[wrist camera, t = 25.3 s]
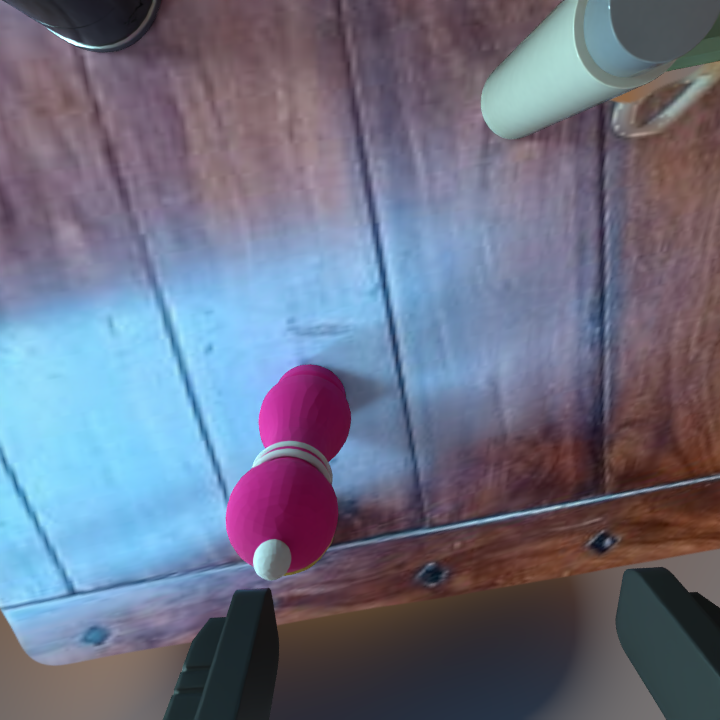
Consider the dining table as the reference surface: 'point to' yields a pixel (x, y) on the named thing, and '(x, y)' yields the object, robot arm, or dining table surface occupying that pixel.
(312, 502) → the pepper mill
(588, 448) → the dining table surface
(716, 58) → the green square tray
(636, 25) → the cylinder
